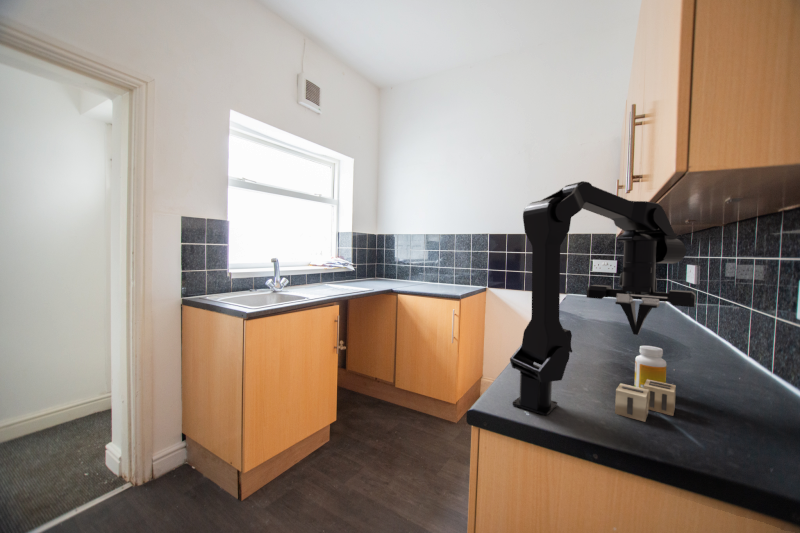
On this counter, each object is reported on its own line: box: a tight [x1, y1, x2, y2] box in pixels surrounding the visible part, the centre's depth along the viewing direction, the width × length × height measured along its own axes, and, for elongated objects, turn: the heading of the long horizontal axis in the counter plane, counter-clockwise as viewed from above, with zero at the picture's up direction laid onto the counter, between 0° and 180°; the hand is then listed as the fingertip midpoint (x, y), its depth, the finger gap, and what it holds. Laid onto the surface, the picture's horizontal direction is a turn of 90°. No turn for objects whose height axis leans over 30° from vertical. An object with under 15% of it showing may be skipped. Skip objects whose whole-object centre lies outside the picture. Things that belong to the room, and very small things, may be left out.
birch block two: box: [644, 379, 677, 416], centre depth 64 cm, size 5×4×5 cm
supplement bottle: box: [633, 345, 667, 389], centre depth 72 cm, size 5×5×10 cm
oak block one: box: [614, 382, 649, 423], centre depth 62 cm, size 5×4×5 cm
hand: (635, 334), depth 72 cm, fingers closed
